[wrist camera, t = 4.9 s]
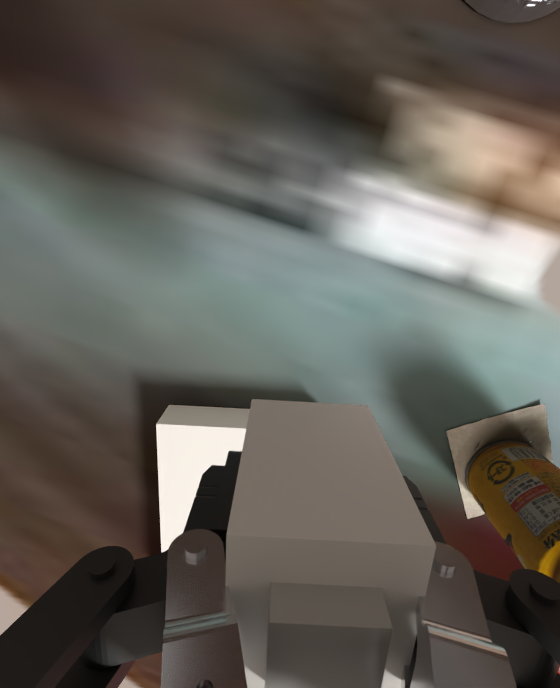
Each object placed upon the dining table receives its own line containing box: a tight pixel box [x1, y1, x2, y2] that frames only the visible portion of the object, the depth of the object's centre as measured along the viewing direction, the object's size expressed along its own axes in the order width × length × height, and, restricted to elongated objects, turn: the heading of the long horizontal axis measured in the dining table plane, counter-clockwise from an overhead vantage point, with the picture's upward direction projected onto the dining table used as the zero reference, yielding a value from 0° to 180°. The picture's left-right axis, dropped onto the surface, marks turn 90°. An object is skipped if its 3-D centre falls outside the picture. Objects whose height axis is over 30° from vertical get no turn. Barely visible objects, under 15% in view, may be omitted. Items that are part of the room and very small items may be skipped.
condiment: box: [446, 404, 560, 583], centre depth 24 cm, size 7×8×12 cm
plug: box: [225, 399, 436, 688], centre depth 10 cm, size 5×4×7 cm
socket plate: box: [156, 405, 250, 553], centre depth 29 cm, size 16×12×4 cm
